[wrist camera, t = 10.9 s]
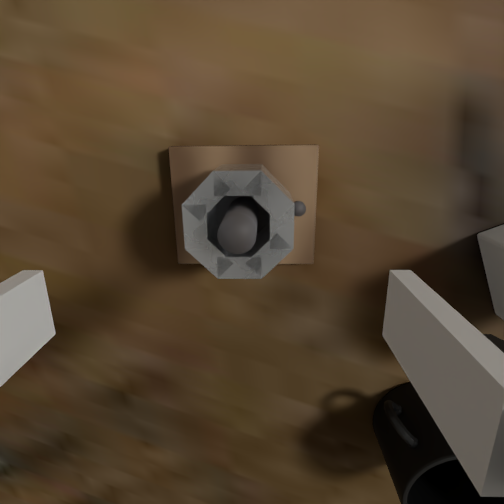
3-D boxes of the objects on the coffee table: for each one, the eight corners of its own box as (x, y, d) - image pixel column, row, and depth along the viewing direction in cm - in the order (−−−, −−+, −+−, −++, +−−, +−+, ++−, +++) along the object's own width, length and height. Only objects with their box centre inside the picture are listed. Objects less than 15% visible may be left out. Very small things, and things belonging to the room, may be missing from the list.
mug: (409, 347, 35) (456, 416, 27) (480, 417, 38) (543, 501, 29) (337, 401, 38) (358, 480, 29) (408, 464, 40) (447, 554, 31)
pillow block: (181, 258, 33) (148, 308, 24) (173, 146, 30) (130, 152, 20) (311, 258, 33) (330, 309, 23) (316, 144, 29) (340, 149, 20)
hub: (199, 255, 30) (187, 278, 25) (193, 164, 27) (179, 171, 23) (288, 255, 29) (292, 278, 25) (290, 163, 27) (295, 170, 22)
